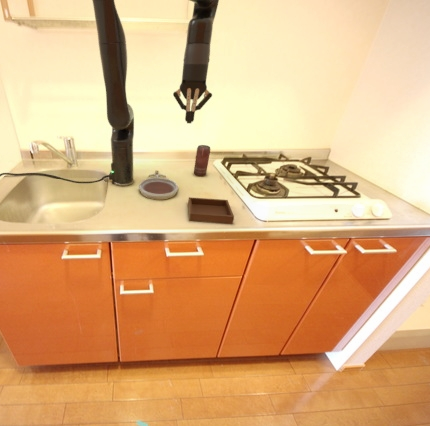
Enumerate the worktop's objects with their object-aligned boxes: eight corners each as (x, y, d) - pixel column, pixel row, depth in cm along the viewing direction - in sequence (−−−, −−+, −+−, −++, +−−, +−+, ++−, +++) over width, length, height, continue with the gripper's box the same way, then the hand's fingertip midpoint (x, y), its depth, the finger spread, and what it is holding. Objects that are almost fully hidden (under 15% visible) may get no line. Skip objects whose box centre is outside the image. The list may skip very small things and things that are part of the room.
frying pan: (174, 168, 113) (180, 194, 89) (173, 174, 115) (180, 201, 91) (140, 168, 113) (137, 193, 89) (139, 173, 115) (137, 200, 91)
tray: (189, 220, 80) (190, 213, 78) (187, 203, 89) (188, 197, 88) (232, 224, 78) (234, 216, 77) (225, 206, 88) (227, 199, 86)
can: (193, 176, 111) (197, 148, 103) (193, 171, 116) (197, 144, 109) (206, 177, 110) (211, 149, 103) (205, 172, 115) (210, 145, 108)
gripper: (216, 63, 71) (207, 121, 81) (174, 62, 73) (170, 119, 82) (220, 63, 65) (209, 126, 75) (174, 62, 66) (169, 124, 76)
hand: (188, 122), depth 78 cm, fingers closed
